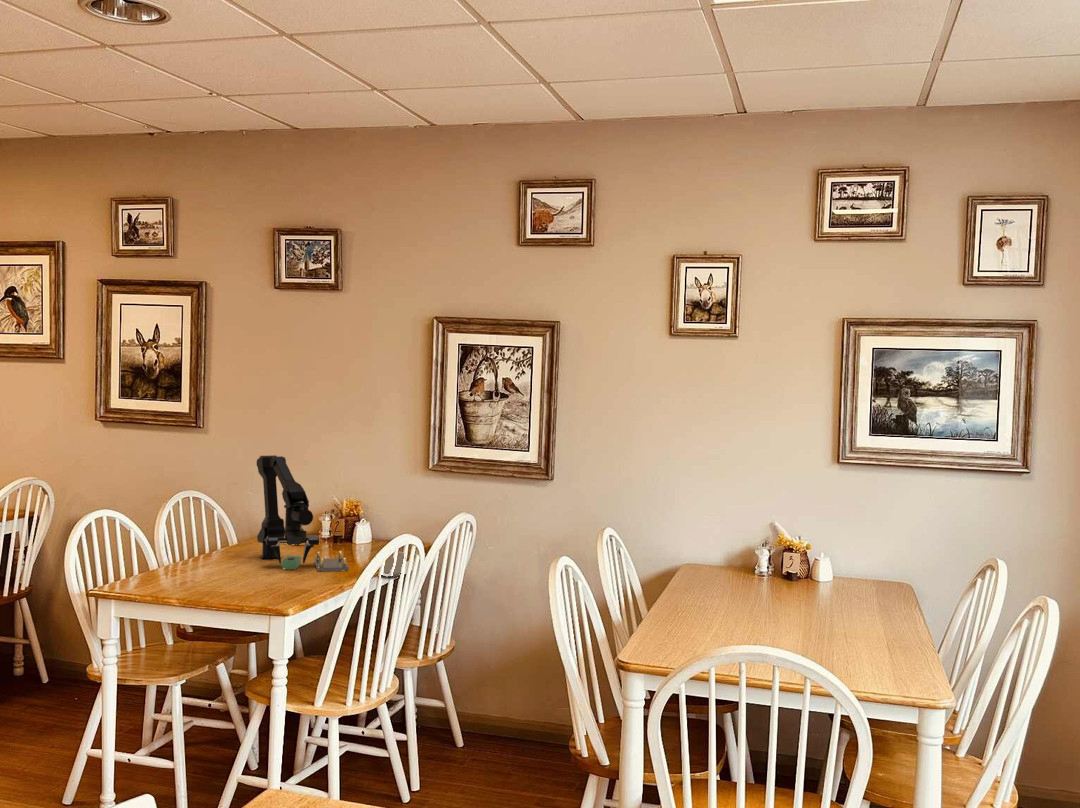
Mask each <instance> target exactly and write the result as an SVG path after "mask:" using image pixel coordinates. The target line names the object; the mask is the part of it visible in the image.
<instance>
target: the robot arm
mask: <svg viewBox="0 0 1080 808" xmlns="http://www.w3.org/2000/svg"><path fill="white" fill-rule="evenodd" d="M256 467H257V470H258V471H257V472H258V474H259V476H260V477H261V478H262V479H263V481H262V482H263V483H262V484H263V494H264V495H263V496H264V497H263V498H264V500H263V501H264V515H265V516H264V518H263V520H262V522H261V528H260V530H259V532H258V534H257V536H256V538H257V539H256V540H257V542H258V543H260V544H262V551H261V553H262V554H260V559H261V558H262V559H261V560H266V559H267V558H268V559H267V560H270V559H269V558H278V563H279V565H280V564H281V565H282V557H281V549H280V547H281V546H280V544H283V543H287V544H288V545H287V546H293V545H292V544H297V545H299V544H301V543H305V542H306V543H305V545H304V549H303V556H302V557H303V558H302V564H305V562H306V559H307V557H308V554H309V553H310V550H311V549H312V548H315V546H317V545H318V546H319V545H320V538H319V536H318V535H317V534H307V533H308V532H307V530H304V531H301V525H303V526H308V525H310V524H312V522H313V520H314V515H313V512H312V511H311V510H310V509H309V507H310V503H309V502H310V501H309V499H308V496H307V494H306V491H305V489H304V488H303V486H302V485H301V484H300V483H299V482H297V481H296V480H295V479H294V477H293V474H292V473H291V469H290V468H289V466H288V463H287V460H286V457H285V456H283V455H282V456H279V455H260V456H259V458H257V460H256ZM277 478H278V480H279V483H280V485H281V488H282V493H281V496H282V500H283V501H284V506H283V508H284V509H285V519H283V518H281V516H280V515H279V504H278V487H277Z"/></svg>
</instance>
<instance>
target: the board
mask: <svg viewBox="0 0 1080 808" xmlns="http://www.w3.org/2000/svg"><path fill="white" fill-rule="evenodd" d="M300 564H301V565H302V555H287V556H285V557H284V558H283V559H281V569H282V568H285V569H284V570H286V569H296V568H297V567H298V566H299V565H300ZM301 565H300V566H301ZM300 566H299V567H300ZM299 567H298V568H299ZM298 568H297V569H298ZM297 569H296V570H297Z"/></svg>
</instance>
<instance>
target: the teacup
mask: <svg viewBox="0 0 1080 808" xmlns="http://www.w3.org/2000/svg"><path fill="white" fill-rule="evenodd" d="M378 553H379V552H377V553H376V554H375V555H374V556H375V557H376V555H377V554H378ZM404 553H405V552H402V551H399V552H398V557H397V563H396V566H395V569H394V572H393V577H392V578H396V577H400V575H401V574H400V572H401V567H402V564H403V559H404ZM393 563H394V558H393V555H391V556H390V558H388V560H387V562H386V564H385V566H384V573H385V574H389V573H390V570H391V569H392V567H393ZM399 574H400V575H399Z"/></svg>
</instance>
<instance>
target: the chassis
mask: <svg viewBox="0 0 1080 808" xmlns="http://www.w3.org/2000/svg"><path fill="white" fill-rule="evenodd" d="M342 556H343V551H342V550H338V557H337V558H336V557H335V558H334V557H332V558H331V557H330V558H329V557H328V558H321V551H316V558H313V564H314V563H315V564H314V566H316V567H315V568H317V569H316V571H317V570H318V571H337V572H343V571H342V570H349V569H350V566H349V565H348V563H347V557H342ZM318 571H317V572H318ZM349 571H350V570H349Z"/></svg>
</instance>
